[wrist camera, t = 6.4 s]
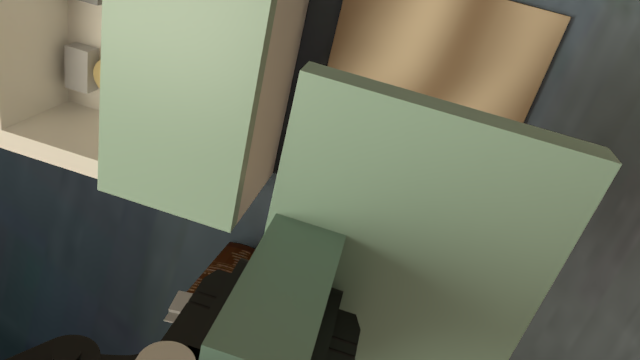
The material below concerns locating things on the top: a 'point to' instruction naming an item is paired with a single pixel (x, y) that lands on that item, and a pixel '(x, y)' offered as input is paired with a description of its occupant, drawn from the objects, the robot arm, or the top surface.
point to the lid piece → (408, 226)
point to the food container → (222, 262)
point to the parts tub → (152, 95)
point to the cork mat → (451, 49)
